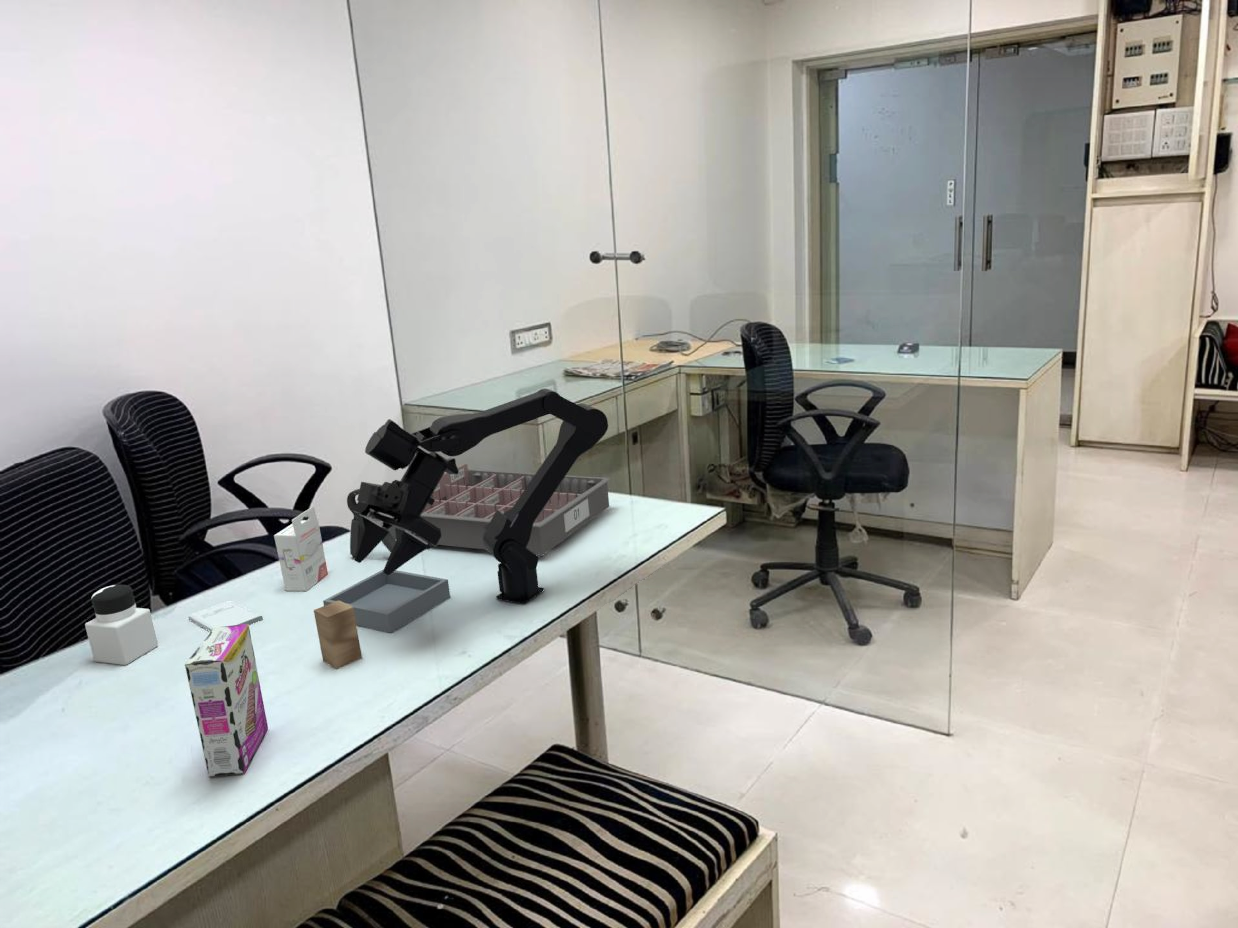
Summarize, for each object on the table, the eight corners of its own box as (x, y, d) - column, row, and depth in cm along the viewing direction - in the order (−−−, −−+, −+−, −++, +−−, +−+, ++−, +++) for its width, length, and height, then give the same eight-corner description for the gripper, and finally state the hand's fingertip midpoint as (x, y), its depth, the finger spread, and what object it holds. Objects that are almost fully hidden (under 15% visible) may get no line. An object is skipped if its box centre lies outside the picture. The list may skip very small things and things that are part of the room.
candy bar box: (247, 774, 118) (222, 660, 114) (207, 779, 118) (181, 665, 113) (271, 727, 129) (249, 621, 124) (235, 731, 129) (212, 625, 124)
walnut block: (348, 650, 151) (339, 600, 148) (362, 658, 147) (353, 607, 145) (323, 660, 148) (313, 609, 145) (336, 669, 144) (327, 617, 142)
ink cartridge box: (306, 574, 185) (293, 505, 181) (328, 574, 184) (316, 505, 180) (283, 591, 177) (269, 520, 173) (306, 591, 176) (293, 519, 172)
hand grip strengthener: (403, 561, 188) (392, 492, 184) (350, 559, 191) (338, 491, 187) (408, 557, 190) (398, 488, 186) (356, 555, 193) (345, 488, 189)
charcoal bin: (450, 596, 168) (447, 579, 167) (390, 633, 155) (387, 614, 154) (387, 585, 176) (385, 568, 175) (326, 618, 163) (322, 600, 162)
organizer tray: (544, 563, 181) (539, 516, 178) (384, 546, 198) (378, 502, 195) (614, 511, 208) (610, 469, 206) (468, 499, 226) (463, 461, 223)
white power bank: (219, 640, 160) (189, 622, 168) (264, 622, 165) (232, 606, 174) (217, 631, 159) (187, 614, 167) (262, 614, 165) (231, 598, 173)
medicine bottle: (159, 646, 158) (144, 581, 155) (125, 665, 151) (109, 599, 148) (127, 642, 160) (112, 579, 157) (93, 662, 154) (76, 596, 150)
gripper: (353, 453, 154) (305, 535, 150) (413, 469, 141) (362, 558, 137) (401, 484, 162) (356, 563, 158) (462, 502, 149) (415, 588, 144)
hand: (370, 567), depth 149 cm, fingers open, 9 cm apart
